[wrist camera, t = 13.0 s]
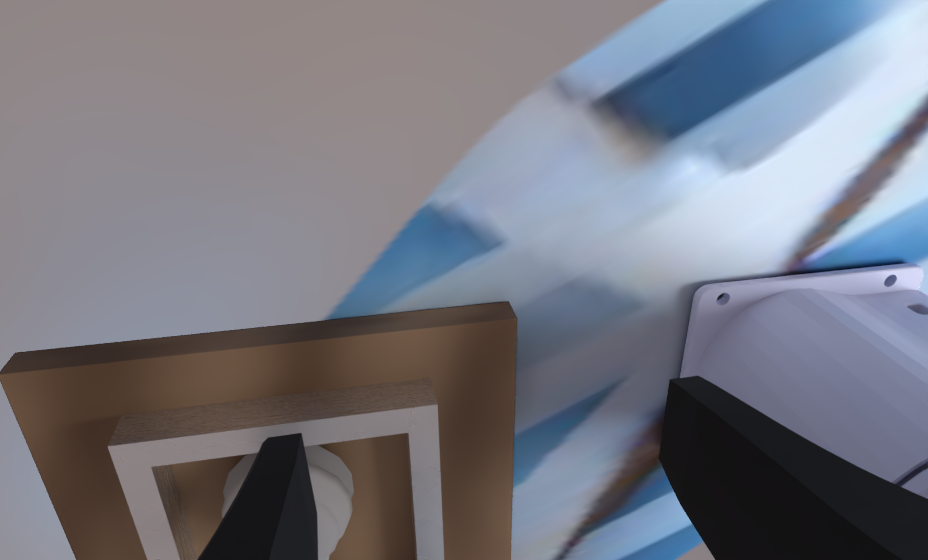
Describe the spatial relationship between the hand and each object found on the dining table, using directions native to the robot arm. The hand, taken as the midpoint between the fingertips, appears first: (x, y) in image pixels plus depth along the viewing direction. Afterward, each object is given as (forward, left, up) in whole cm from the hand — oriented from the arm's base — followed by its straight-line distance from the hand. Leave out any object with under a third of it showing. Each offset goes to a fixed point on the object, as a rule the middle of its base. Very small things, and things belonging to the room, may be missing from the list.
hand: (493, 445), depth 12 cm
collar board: (+5, +9, -10) cm, 15 cm away
